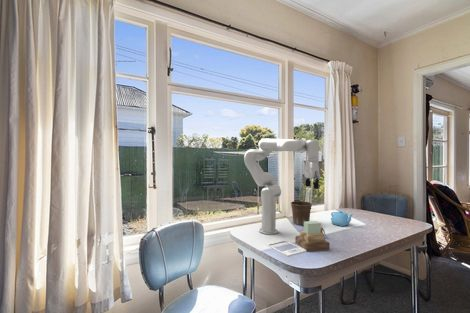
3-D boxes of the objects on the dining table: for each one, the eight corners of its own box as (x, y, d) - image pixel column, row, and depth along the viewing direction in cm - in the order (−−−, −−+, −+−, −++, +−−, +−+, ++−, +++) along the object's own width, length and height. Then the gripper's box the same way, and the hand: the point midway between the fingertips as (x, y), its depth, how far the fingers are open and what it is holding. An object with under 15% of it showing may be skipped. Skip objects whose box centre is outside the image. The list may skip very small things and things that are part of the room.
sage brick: (303, 231, 147) (303, 221, 147) (315, 230, 149) (316, 220, 149) (307, 234, 142) (308, 223, 142) (320, 233, 144) (320, 223, 144)
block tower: (295, 242, 151) (295, 229, 151) (316, 241, 154) (316, 228, 154) (306, 251, 137) (306, 237, 137) (329, 249, 140) (329, 235, 140)
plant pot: (309, 228, 182) (309, 206, 182) (287, 224, 190) (287, 203, 190) (313, 222, 196) (314, 202, 196) (293, 219, 204) (294, 200, 204)
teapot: (349, 214, 180) (326, 209, 194) (348, 229, 180) (326, 223, 195) (357, 212, 188) (335, 208, 202) (357, 226, 188) (335, 221, 202)
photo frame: (287, 254, 131) (266, 244, 146) (287, 257, 131) (266, 246, 146) (307, 249, 138) (285, 240, 153) (307, 251, 138) (285, 241, 153)
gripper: (300, 159, 161) (299, 185, 162) (314, 160, 144) (313, 189, 145) (310, 159, 163) (310, 185, 163) (325, 160, 146) (325, 189, 146)
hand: (311, 187), depth 154 cm, fingers open, 9 cm apart
